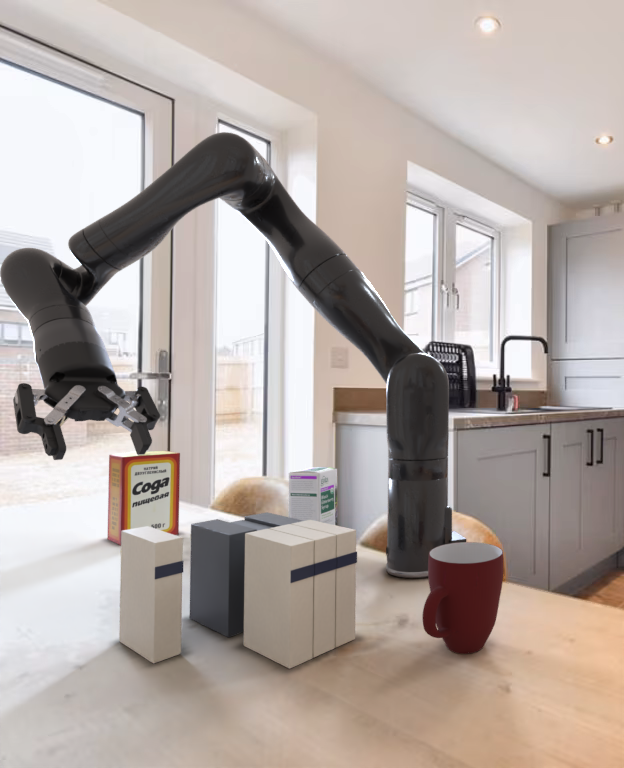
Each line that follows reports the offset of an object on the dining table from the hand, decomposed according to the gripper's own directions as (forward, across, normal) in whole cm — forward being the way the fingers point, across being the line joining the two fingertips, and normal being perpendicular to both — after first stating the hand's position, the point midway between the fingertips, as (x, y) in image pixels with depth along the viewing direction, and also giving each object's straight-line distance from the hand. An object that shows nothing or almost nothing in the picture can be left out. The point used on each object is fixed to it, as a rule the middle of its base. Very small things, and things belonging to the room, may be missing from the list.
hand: (104, 452), depth 66 cm
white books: (+32, +10, -5) cm, 34 cm away
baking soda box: (-11, +20, +40) cm, 46 cm away
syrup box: (+14, +30, +14) cm, 36 cm away
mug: (+43, +18, -16) cm, 49 cm away
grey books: (+24, +11, +3) cm, 26 cm away
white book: (+24, 0, +4) cm, 24 cm away
